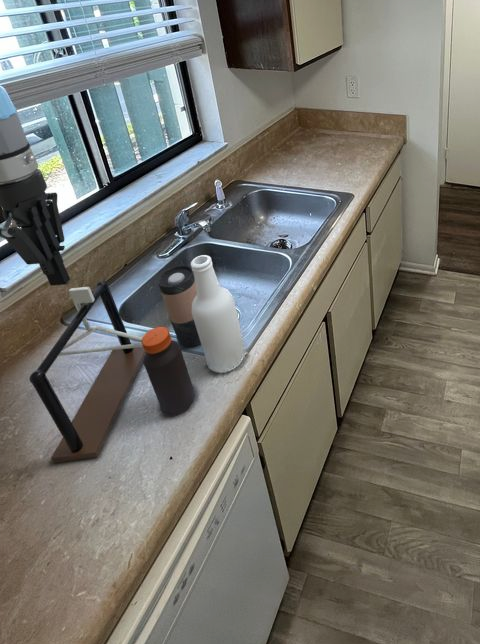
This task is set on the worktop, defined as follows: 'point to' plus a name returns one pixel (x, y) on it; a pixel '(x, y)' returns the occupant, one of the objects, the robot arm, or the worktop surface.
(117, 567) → the worktop surface
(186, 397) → the bottle
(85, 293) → the hanger
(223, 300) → the alcohol
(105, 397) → the rail
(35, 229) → the robot arm
